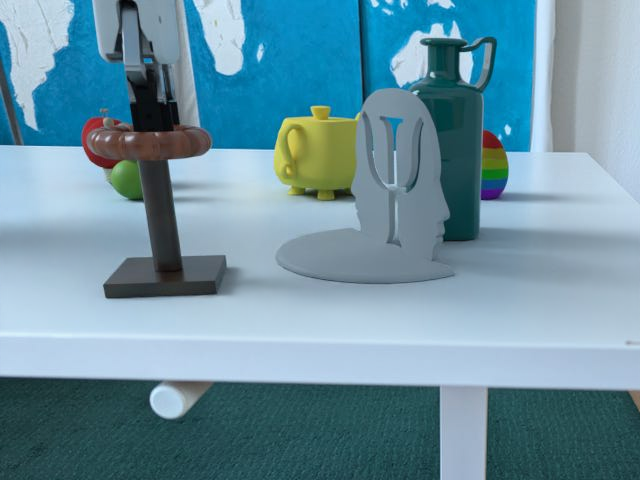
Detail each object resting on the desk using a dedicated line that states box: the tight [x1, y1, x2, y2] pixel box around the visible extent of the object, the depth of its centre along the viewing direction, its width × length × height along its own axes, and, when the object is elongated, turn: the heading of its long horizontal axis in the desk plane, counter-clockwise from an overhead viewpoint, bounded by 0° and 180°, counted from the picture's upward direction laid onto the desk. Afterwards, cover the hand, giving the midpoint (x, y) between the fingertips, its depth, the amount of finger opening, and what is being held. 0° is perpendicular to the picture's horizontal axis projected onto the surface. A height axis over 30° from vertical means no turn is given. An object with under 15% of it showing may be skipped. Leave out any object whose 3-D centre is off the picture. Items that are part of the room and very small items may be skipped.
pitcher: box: [405, 36, 498, 241], centre depth 82 cm, size 10×8×22 cm
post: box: [102, 160, 228, 299], centre depth 63 cm, size 9×9×11 cm
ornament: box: [275, 87, 456, 284], centre depth 70 cm, size 22×13×17 cm, turn 38°
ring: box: [86, 124, 213, 161], centre depth 60 cm, size 10×10×2 cm
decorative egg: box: [481, 129, 510, 200], centre depth 109 cm, size 8×8×10 cm
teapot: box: [273, 105, 361, 201], centre depth 108 cm, size 14×20×13 cm
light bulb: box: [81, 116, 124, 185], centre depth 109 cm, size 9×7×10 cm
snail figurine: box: [99, 108, 144, 200], centre depth 98 cm, size 5×6×12 cm
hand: (160, 147), depth 64 cm, fingers closed on ring, 2 cm apart
